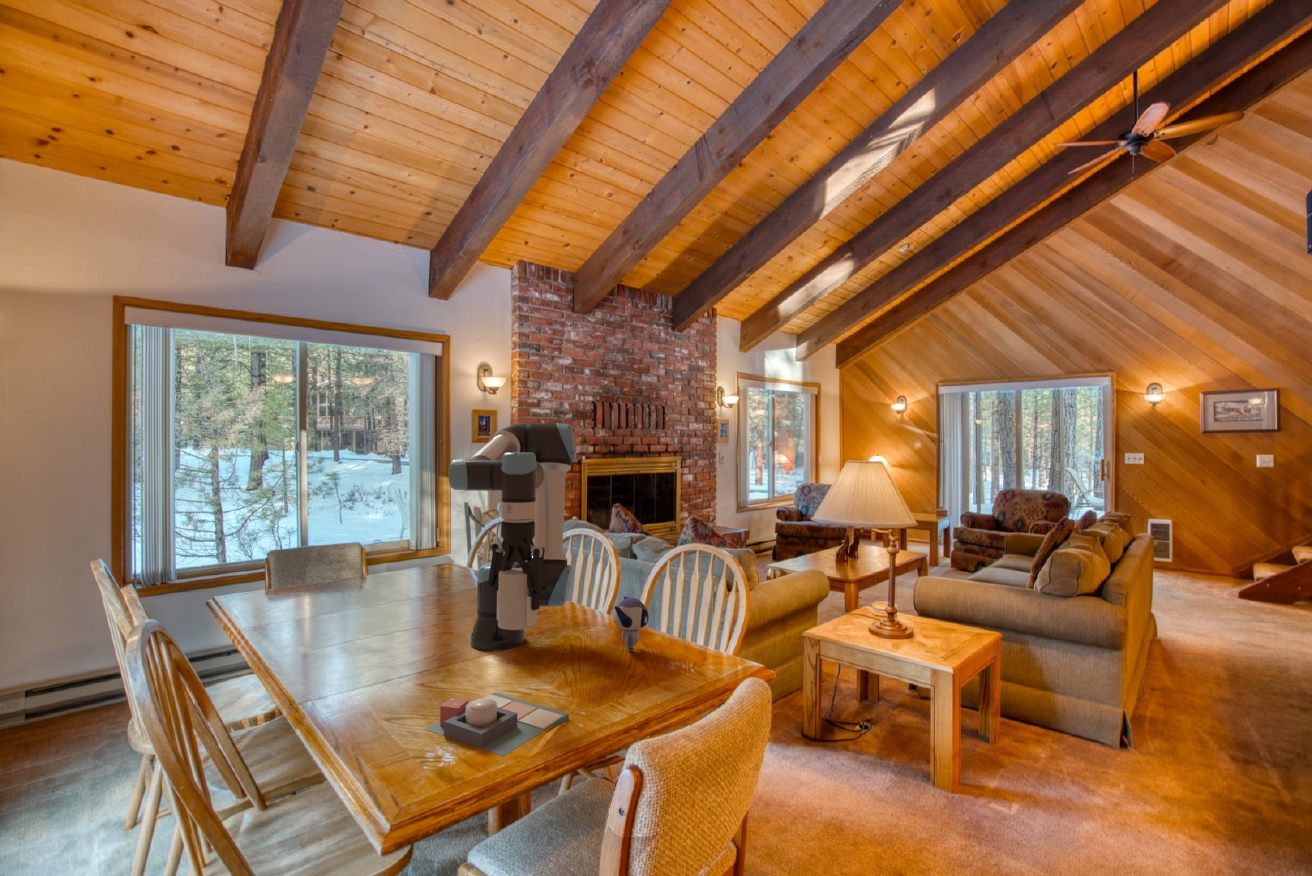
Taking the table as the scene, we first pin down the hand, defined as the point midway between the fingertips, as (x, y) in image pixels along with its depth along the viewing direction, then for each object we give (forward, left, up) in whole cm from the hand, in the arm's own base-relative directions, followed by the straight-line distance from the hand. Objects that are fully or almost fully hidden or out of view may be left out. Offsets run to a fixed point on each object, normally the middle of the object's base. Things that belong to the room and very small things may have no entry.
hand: (516, 621), depth 140 cm
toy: (+6, +40, -18) cm, 45 cm away
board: (+5, -11, -18) cm, 22 cm away
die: (-3, -16, -17) cm, 23 cm away
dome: (+5, -16, -16) cm, 23 cm away
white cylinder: (0, 0, -1) cm, 1 cm away
